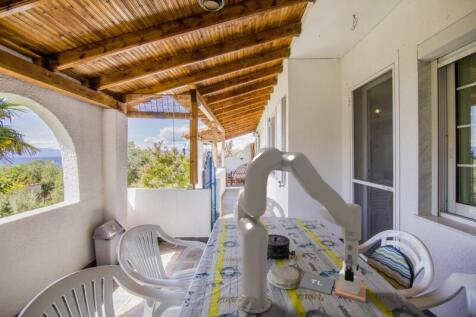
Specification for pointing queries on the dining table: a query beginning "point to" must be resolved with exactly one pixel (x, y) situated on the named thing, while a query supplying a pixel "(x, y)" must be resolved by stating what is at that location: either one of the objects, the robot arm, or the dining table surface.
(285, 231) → the dining table surface
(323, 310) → the dining table surface
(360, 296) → the terracotta pad
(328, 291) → the tile
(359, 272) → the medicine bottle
